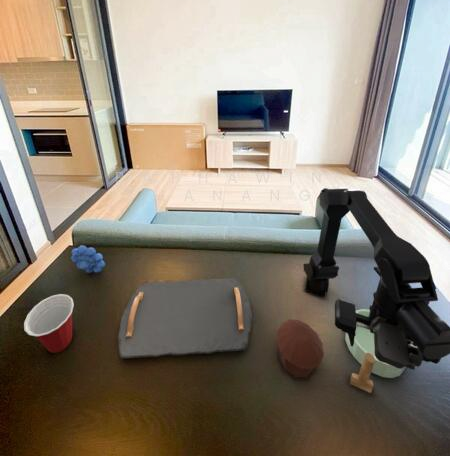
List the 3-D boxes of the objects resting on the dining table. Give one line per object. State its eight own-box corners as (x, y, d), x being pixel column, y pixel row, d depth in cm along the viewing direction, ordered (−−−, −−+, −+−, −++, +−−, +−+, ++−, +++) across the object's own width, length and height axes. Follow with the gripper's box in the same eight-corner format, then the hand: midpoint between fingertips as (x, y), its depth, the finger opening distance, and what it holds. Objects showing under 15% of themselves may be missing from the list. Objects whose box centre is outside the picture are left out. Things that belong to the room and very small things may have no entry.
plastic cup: (32, 373, 61) (18, 342, 57) (39, 333, 70) (28, 304, 66) (82, 351, 66) (72, 321, 61) (83, 317, 75) (74, 288, 70)
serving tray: (245, 283, 86) (246, 269, 84) (257, 356, 65) (259, 341, 63) (134, 288, 84) (131, 275, 82) (108, 366, 62) (104, 351, 60)
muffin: (265, 352, 66) (267, 327, 62) (291, 327, 72) (295, 303, 68) (302, 397, 57) (308, 371, 53) (328, 364, 63) (335, 338, 60)
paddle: (350, 386, 59) (359, 357, 55) (349, 377, 61) (358, 348, 57) (371, 395, 57) (382, 366, 53) (370, 386, 59) (380, 357, 55)
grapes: (68, 281, 87) (60, 254, 82) (79, 266, 93) (72, 241, 89) (100, 282, 86) (94, 255, 82) (109, 267, 93) (104, 241, 88)
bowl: (345, 363, 63) (349, 349, 61) (344, 315, 76) (347, 302, 74) (410, 390, 58) (417, 376, 56) (398, 333, 70) (403, 320, 68)
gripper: (342, 321, 46) (329, 372, 52) (468, 365, 39) (437, 419, 45) (340, 277, 56) (329, 324, 61) (441, 306, 49) (419, 356, 55)
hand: (373, 352), depth 55 cm, fingers open, 9 cm apart
